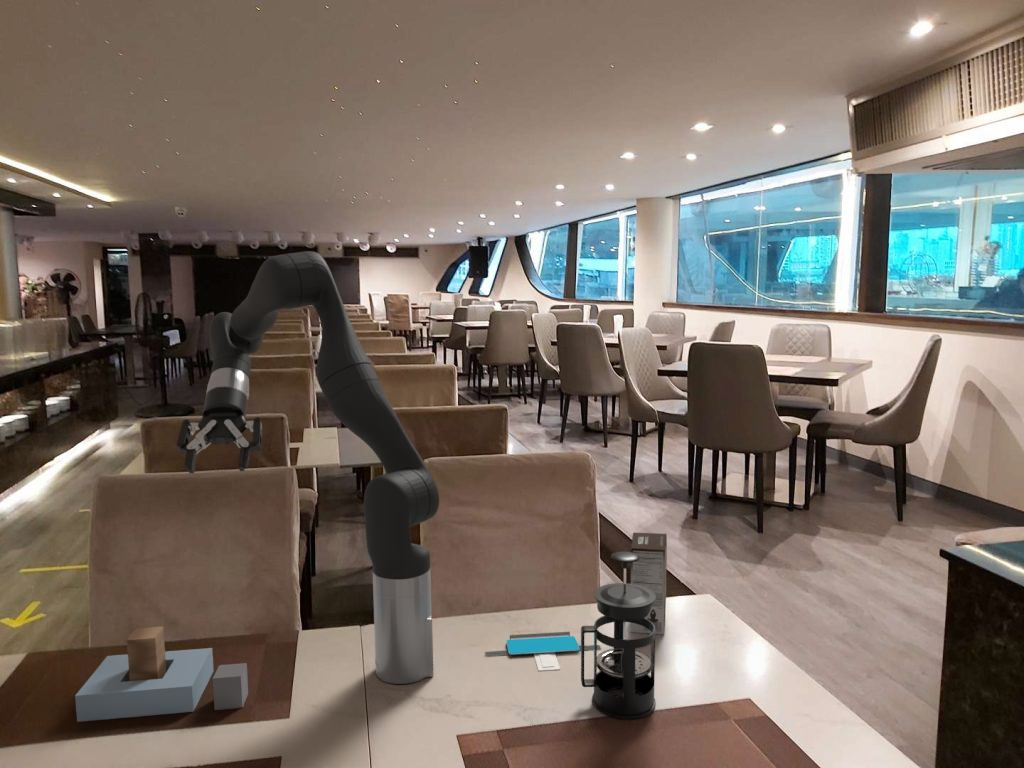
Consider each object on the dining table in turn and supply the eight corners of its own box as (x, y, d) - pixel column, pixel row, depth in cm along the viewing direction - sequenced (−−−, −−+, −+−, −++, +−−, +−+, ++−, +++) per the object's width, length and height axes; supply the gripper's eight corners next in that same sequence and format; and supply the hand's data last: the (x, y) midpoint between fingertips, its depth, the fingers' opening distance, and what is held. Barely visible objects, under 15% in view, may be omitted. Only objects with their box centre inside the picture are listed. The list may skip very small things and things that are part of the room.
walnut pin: (167, 686, 116) (163, 626, 114) (159, 700, 112) (155, 638, 111) (140, 689, 115) (135, 628, 114) (131, 703, 111) (126, 640, 110)
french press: (653, 685, 115) (655, 543, 112) (666, 719, 105) (668, 565, 103) (578, 686, 115) (578, 544, 112) (584, 720, 105) (585, 566, 103)
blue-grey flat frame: (213, 671, 120) (212, 647, 120) (193, 711, 109) (191, 686, 108) (109, 679, 118) (107, 655, 118) (77, 721, 106) (75, 695, 106)
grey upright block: (248, 693, 114) (246, 663, 113) (242, 707, 110) (240, 676, 109) (221, 695, 113) (219, 665, 112) (214, 710, 109) (212, 678, 108)
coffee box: (631, 611, 142) (632, 531, 140) (665, 614, 140) (666, 533, 139) (629, 632, 133) (630, 547, 131) (665, 635, 131) (667, 549, 130)
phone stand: (488, 677, 119) (488, 668, 118) (483, 643, 130) (483, 634, 130) (609, 670, 121) (609, 660, 121) (593, 637, 133) (593, 628, 132)
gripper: (182, 386, 136) (168, 460, 126) (262, 384, 138) (254, 456, 128) (192, 410, 142) (178, 483, 132) (269, 407, 144) (261, 479, 134)
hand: (216, 470), depth 130 cm, fingers open, 8 cm apart
